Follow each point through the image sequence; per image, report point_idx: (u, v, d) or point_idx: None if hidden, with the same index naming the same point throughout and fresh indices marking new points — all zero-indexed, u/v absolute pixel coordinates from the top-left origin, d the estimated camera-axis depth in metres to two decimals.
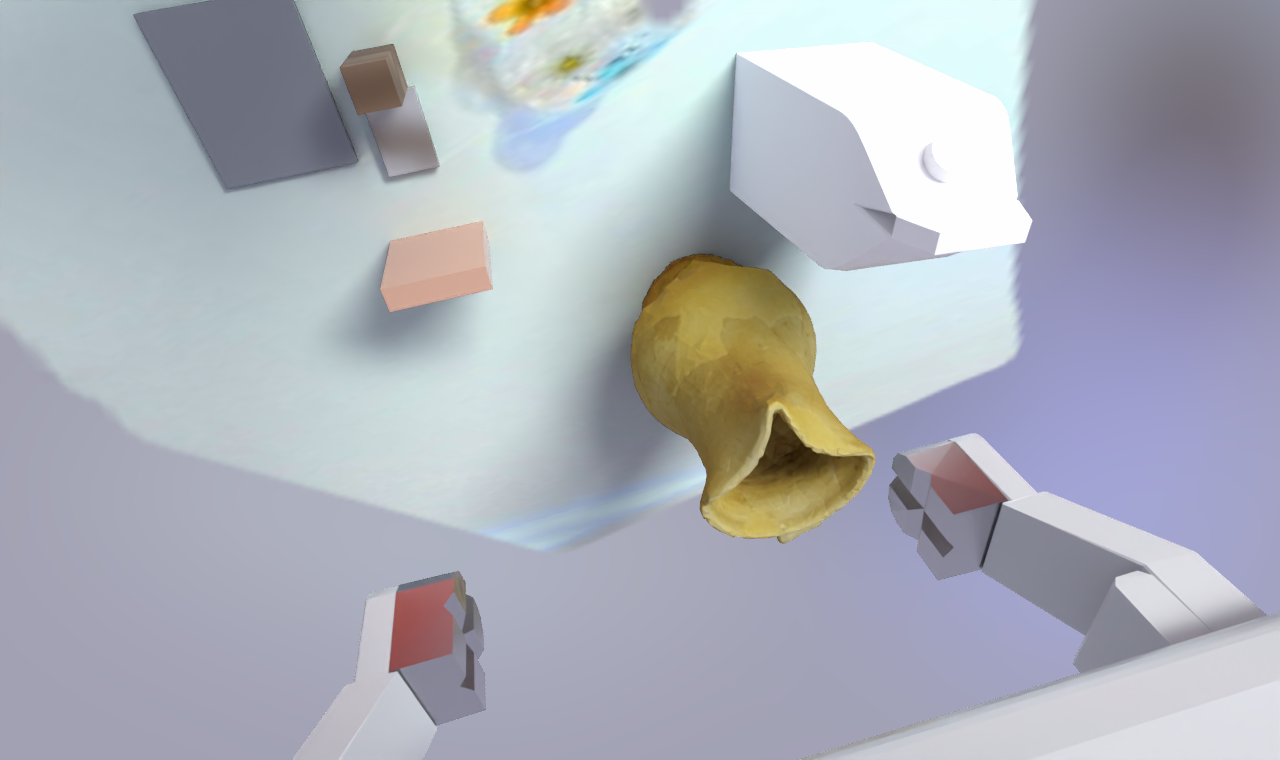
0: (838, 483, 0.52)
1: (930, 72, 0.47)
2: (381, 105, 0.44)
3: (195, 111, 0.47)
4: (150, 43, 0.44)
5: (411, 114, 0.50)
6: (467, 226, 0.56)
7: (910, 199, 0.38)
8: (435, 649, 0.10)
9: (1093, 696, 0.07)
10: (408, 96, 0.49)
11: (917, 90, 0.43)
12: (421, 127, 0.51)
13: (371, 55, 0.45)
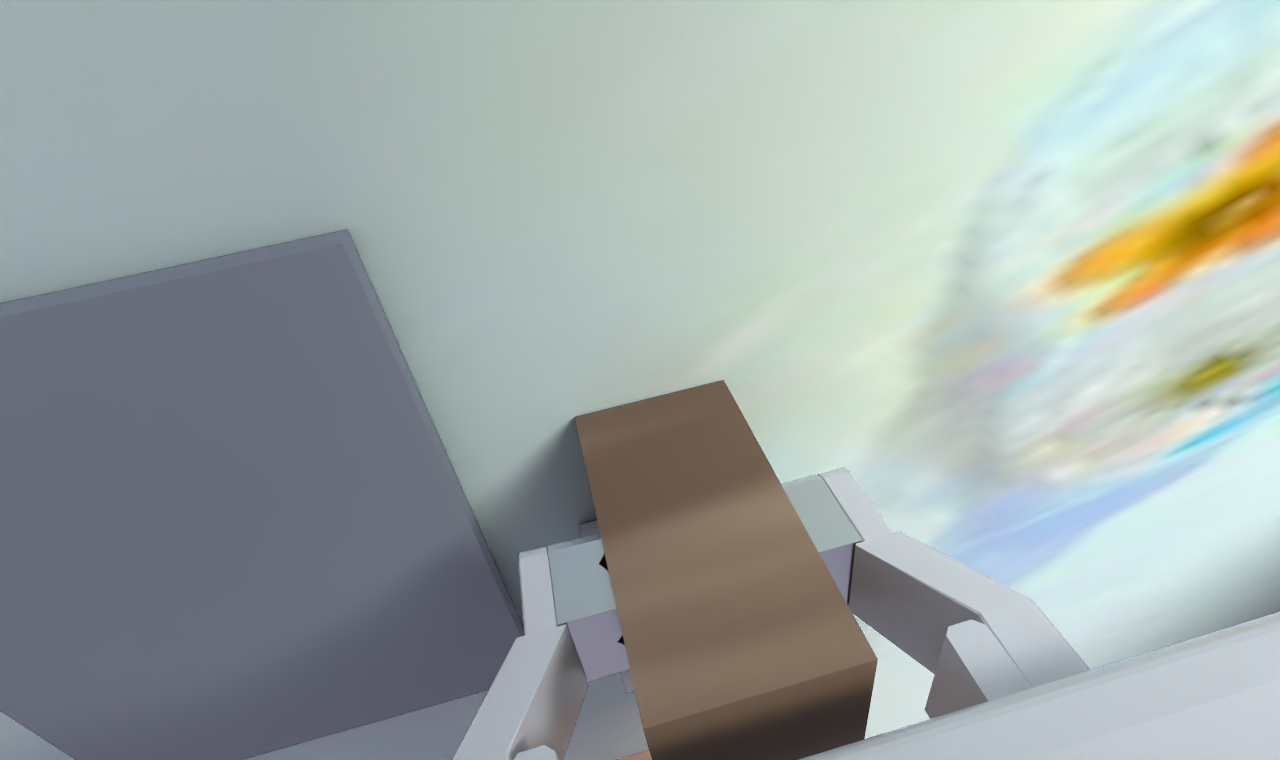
0: None
1: None
2: None
3: None
4: None
5: None
6: None
7: None
8: (599, 604, 0.10)
9: (1093, 696, 0.07)
10: None
11: None
12: None
13: (718, 527, 0.10)
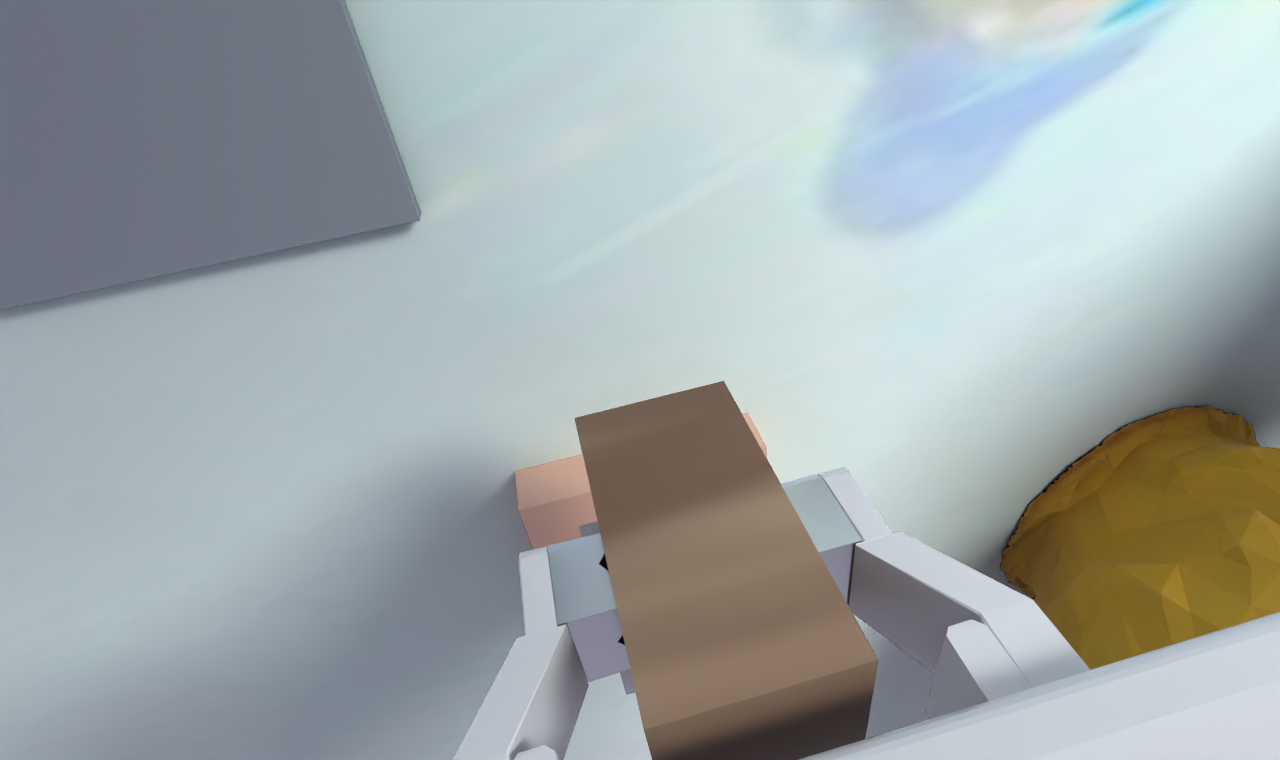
0: None
1: None
2: None
3: None
4: None
5: None
6: None
7: None
8: (599, 604, 0.10)
9: (1093, 697, 0.07)
10: None
11: None
12: None
13: (718, 527, 0.10)
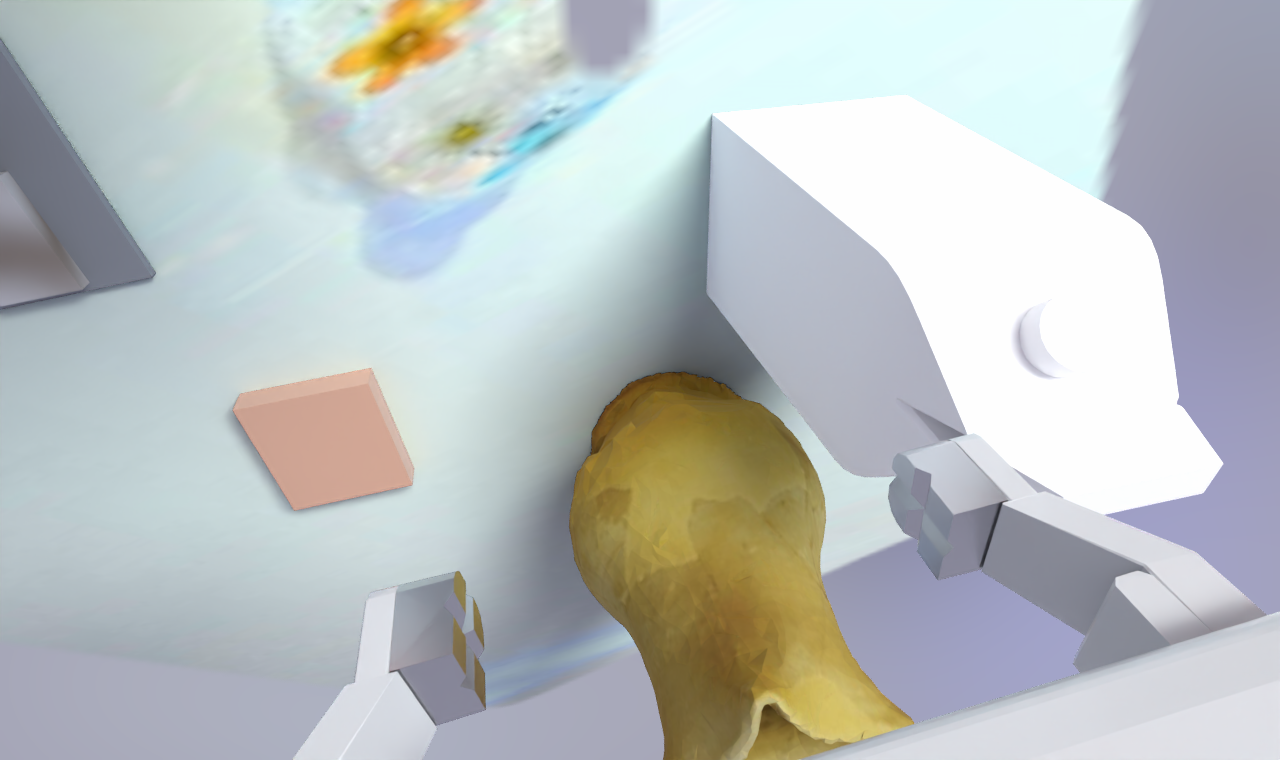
0: None
1: (1006, 157, 0.30)
2: None
3: None
4: None
5: (7, 216, 0.31)
6: (349, 393, 0.40)
7: (999, 410, 0.22)
8: (435, 649, 0.10)
9: (1093, 697, 0.07)
10: None
11: (995, 198, 0.27)
12: (31, 234, 0.32)
13: None
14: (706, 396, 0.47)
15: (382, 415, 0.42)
